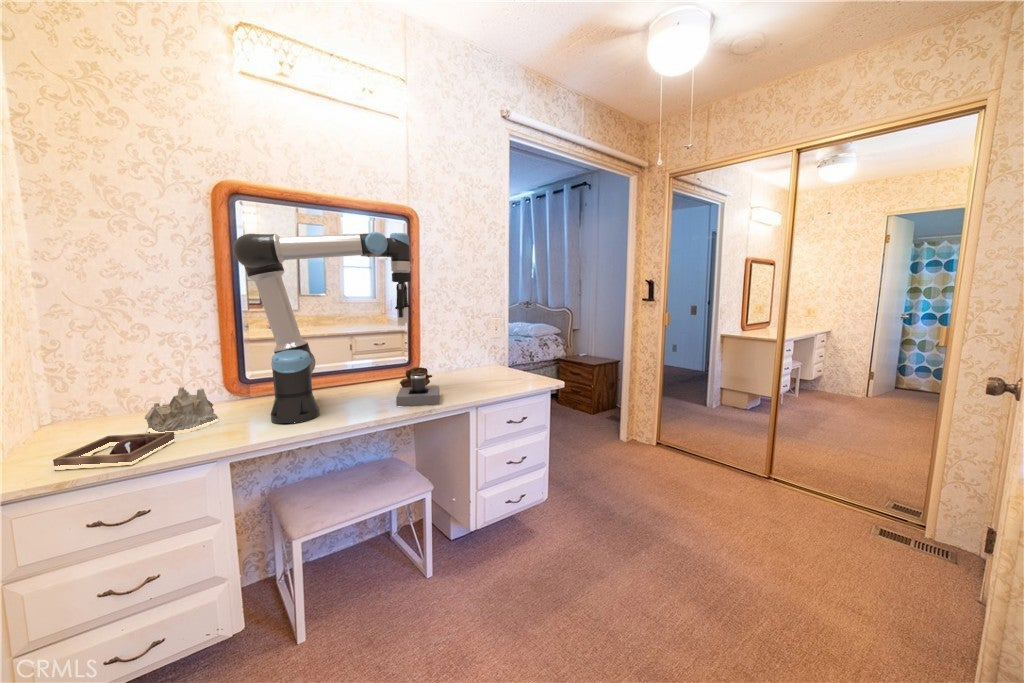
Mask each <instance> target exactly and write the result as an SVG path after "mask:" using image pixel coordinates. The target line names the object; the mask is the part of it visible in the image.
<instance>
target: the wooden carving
mask: <svg viewBox="0 0 1024 683" xmlns="http://www.w3.org/2000/svg"><path fill="white" fill-rule="evenodd" d="M428 371H429V370H428V369H427V368H426V367H420V366H419V367H418V366H416V367H415V366H414V367H411V368H410V369H407V370H406V371H405V376H406V378H403V379H400V381H399V384H400V386H401V388H408V387H412V385H411V375H412V374H418V373H422V374H425V375H426V378H425V387H428V385H429V384H430V383H431V380H430V378H432V377H433V375H432V374H428V373H429V372H428Z"/></svg>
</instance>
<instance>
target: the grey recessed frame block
mask: <svg viewBox="0 0 1024 683" xmlns="http://www.w3.org/2000/svg"><path fill="white" fill-rule="evenodd" d="M425 387H426V393H425V394H412V387H408V388H402V387H400V388H399V390H398V392H397V394H396V395H395V396H396V397H395V398H396V407H397V406H409V407H419V406H418V405H428V406H438V405H437V404H439V405H440V386H439V385H438V386H437V385H436V386H433V385H432V386H431V385H430V386H425Z"/></svg>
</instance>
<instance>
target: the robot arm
mask: <svg viewBox="0 0 1024 683" xmlns="http://www.w3.org/2000/svg"><path fill="white" fill-rule="evenodd" d="M232 251H233V255H234V257H235V259H236V261H238V262H239V264H240V265H242V266H244V269H245V272H246V275H247V277H248V279H249V280H251V281H253V282H254V283H255V285H256V289H257V291H258V295H259V297H260V300H261V303H262V307H263V308H264V312H265V314H266V318H267V320H268V324H269V327H270V329H271V332H272V335H273V339H274V341H275V344H276V345H275V348H274V349H273V353H274V354H273V355H272V357H271V363H270V364H271V370H272V380H273V390H274V401H273V405H272V408H271V412H270V422H271V421H272V422H271V423H273V422H275V423H274V424H276V423H293V424H295V423H294V422H299V423H302V422H301V421H304V422H307V421H306V420H308V421H310V419H311V420H313V419H315V417H316V418H317V417H319V415H320V407H319V405H318V402H317V400H316V399H315V396H314V394H313V382H312V374H313V371H314V370H315V368H316V358H315V355H314V354H313V353H312V352H311V349H310V345H309V342H308V340H305V339H303V338H302V336H301V332H300V330H299V327H298V323H297V320H296V317H295V314H294V310H293V308H292V305H291V302H290V299H289V296H288V292H287V289H286V286H285V284H284V281H283V278H282V277H283V275H284V273H285V269H284V266H283V263H284V261H289V260H292V261H294V260H305V259H320V258H321V259H322V258H323V259H324V258H338V257H340V258H341V257H354V256H360V257H368V258H390V265H391V266H390V267H391V268H390V271H391V272H392V273H391V282H393V283H397V284H396V306H395V307H394V310H396V312H397V326H398V327H399V326H400V327H401V326H402V327H403V326H406V323H409V308H410V304H409V301H408V286H407V284H406V283H411V282H412V274H411V273H410V272H411V267H413V265H412V263H411V244H410V236H409V234H407V233H403V232H391V233H390V236H389V237H387V236H385V235H384V234H383V233H381V232H378V231H372V232H369V233H347V234H325V235H320V234H319V235H300V236H299V235H297V236H279V235H278V234H276V233H273V234H272V233H270V234H269V233H246V234H243V235H240V236H239V237H238V238H237V239H236V240H235V241H234V244H233V247H232ZM312 418H313V419H312Z"/></svg>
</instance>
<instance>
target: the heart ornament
mask: <svg viewBox="0 0 1024 683" xmlns="http://www.w3.org/2000/svg"><path fill="white" fill-rule="evenodd" d="M156 439H157V438H155V437H150V436H147V437H144V438H132V439H126V440H123V441H121V442H119V443H117V444H116V445H115V446H113V447H112V449H111V451H110V452H109V454H108V455H112V454H128V453H131V452H133V451H135V450H137V449H139V448H141V447H143V446H145V445H146V444H148V443H150V442H152V441H154V440H156Z"/></svg>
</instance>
